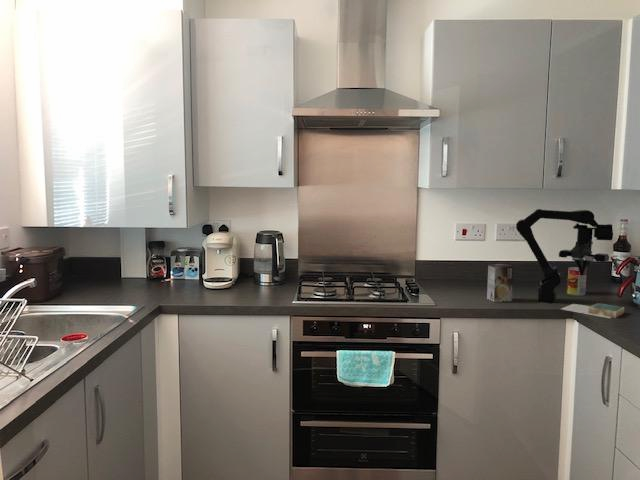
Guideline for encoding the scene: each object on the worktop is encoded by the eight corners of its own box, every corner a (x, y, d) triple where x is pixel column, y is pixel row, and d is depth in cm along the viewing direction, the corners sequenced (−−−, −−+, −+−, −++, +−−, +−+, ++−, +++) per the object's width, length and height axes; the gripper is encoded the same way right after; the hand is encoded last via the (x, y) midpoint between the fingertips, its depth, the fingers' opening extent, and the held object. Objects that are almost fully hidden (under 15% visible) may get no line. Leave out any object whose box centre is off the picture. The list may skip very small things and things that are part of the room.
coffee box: (504, 298, 239) (506, 263, 237) (512, 301, 233) (514, 265, 231) (486, 299, 238) (487, 264, 236) (493, 302, 231) (495, 266, 229)
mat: (560, 310, 218) (560, 309, 218) (573, 304, 228) (573, 303, 227) (609, 319, 204) (609, 318, 204) (621, 313, 214) (621, 311, 214)
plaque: (588, 306, 211) (615, 311, 204) (597, 302, 218) (624, 307, 211) (588, 313, 212) (615, 317, 205) (597, 308, 219) (623, 313, 211)
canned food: (573, 291, 255) (575, 266, 254) (588, 294, 248) (590, 269, 247) (563, 292, 251) (564, 268, 250) (578, 296, 244) (579, 270, 243)
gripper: (554, 239, 225) (552, 274, 227) (601, 243, 212) (598, 281, 214) (565, 237, 233) (562, 271, 235) (610, 240, 219) (608, 277, 221)
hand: (582, 275), depth 226 cm, fingers closed
